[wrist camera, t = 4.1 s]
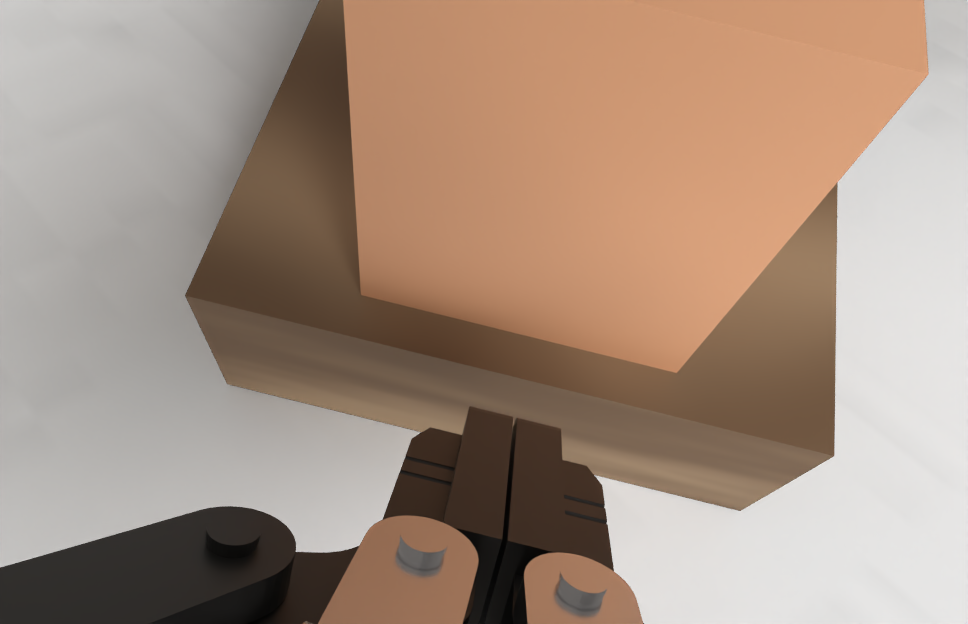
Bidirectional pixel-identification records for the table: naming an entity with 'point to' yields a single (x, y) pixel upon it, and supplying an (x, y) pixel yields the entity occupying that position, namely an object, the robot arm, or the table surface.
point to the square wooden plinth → (493, 352)
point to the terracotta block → (607, 153)
